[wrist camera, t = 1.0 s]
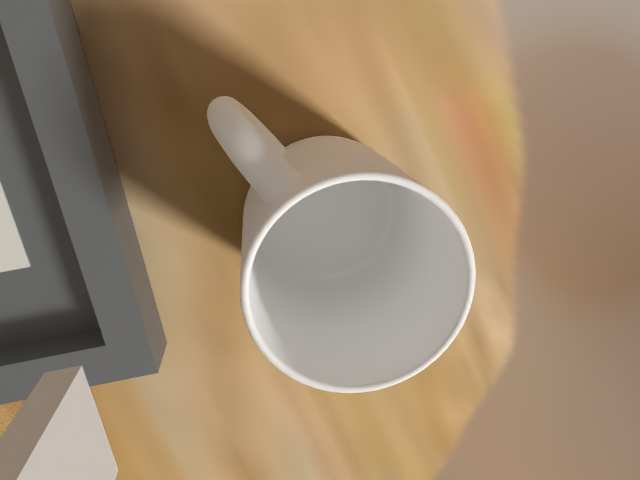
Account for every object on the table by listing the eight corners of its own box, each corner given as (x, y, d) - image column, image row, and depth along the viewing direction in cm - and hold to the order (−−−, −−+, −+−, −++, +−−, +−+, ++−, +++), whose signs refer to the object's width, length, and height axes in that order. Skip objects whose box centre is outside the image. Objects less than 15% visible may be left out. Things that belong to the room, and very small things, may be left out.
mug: (157, 146, 26) (102, 195, 16) (288, 34, 25) (313, 16, 16) (310, 313, 30) (339, 433, 20) (429, 221, 29) (519, 300, 19)
